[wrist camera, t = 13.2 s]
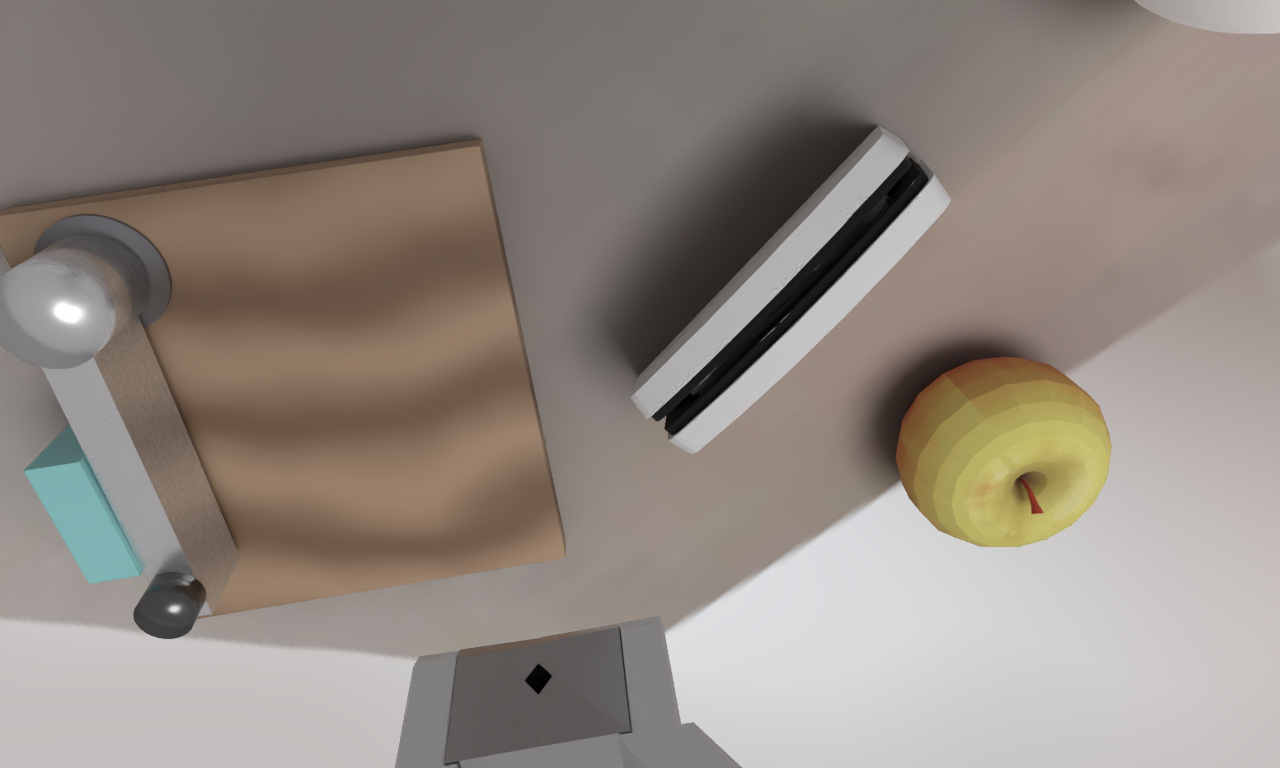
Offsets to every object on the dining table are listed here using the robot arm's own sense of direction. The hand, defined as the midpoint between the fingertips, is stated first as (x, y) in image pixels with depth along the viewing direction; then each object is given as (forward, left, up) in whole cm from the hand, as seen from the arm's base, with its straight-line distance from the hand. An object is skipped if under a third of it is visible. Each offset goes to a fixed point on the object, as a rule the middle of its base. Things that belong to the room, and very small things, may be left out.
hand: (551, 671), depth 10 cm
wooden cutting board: (+10, -12, -29) cm, 33 cm away
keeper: (+11, -21, -28) cm, 37 cm away
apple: (+17, +20, -29) cm, 39 cm away
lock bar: (+8, -19, -27) cm, 34 cm away
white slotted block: (+7, +10, -30) cm, 32 cm away
